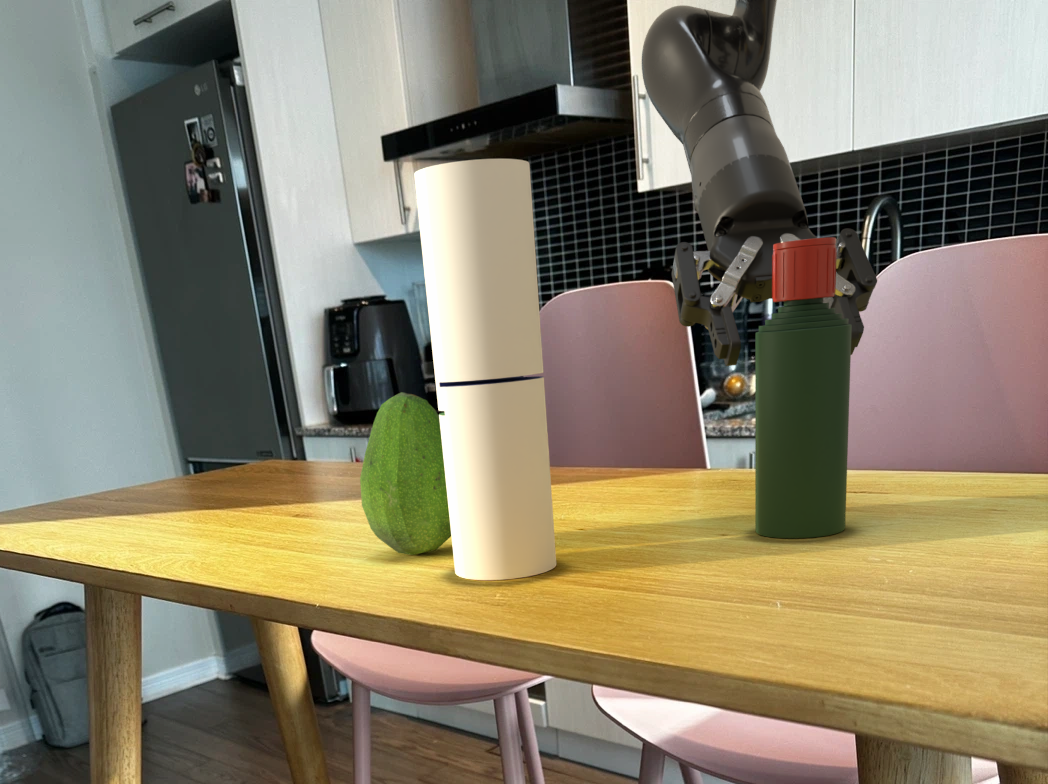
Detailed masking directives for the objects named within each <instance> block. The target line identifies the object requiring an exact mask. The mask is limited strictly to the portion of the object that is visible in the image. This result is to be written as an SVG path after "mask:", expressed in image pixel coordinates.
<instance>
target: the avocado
mask: <svg viewBox="0 0 1048 784" xmlns="http://www.w3.org/2000/svg"><path fill="white" fill-rule="evenodd" d="M363 456H364V457H363V462H362V467H361V472H360V477H359V483H360V484H359V485H360V497H361V507H362V510H363V512H364V515H365V517H366V520H367V523H368V525H369V528H370V530H371V531H372V533H373V534H374V535H375V537H376V538H377V539H379V540H380V541H381V542H382V543H384V544H385V545H386V546H388V547H389V548H391V549H392V550H393V551H395V552H397V554H402V555H410V556H414V555H419V554H425V553H430V552H434V551H437V550H438V549H439V548H440V547H441V546H443V544H444V543H446V542H447V541H448V540H449V539H450V538H452V537H451V527H450V517H449V507H448V498H447V488H446V478H445V468H444V459H443V449H442V439H441V429H440V420H439V414H438V412H437V411H436V409H435V408H434V407H433V406H432V405H431V404H430V403H429V401H428V400H427V399H424V398H422V397H420V396H418V395H416V394H412V393H407V392H402V391H401V392H399V393H397V394H395V395H393V396H391V397H390V398H388V399H387V400H386V401H384V402H383V403H381V405H380V407H379V409H378V411H377V412H376V415H375V417H374V420H373V424H372V427H371V431H370V435H369V438H368V441H367V445H366V448H365V452H364V455H363Z"/></svg>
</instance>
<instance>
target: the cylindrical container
mask: <svg viewBox="0 0 1048 784" xmlns="http://www.w3.org/2000/svg"><path fill="white" fill-rule="evenodd" d="M530 167H531V166H530V162H529V161H527V160H523V159H519V158H518V159H517V158H481V159H468V160H460V161H452V162H445V163H440V164H435V165H429V166H426V167H423V168H421V169H418V170H416V171H415V172H414V173H413V176H414V187H415V193H416V195H415V196H416V205H417V206H416V207H417V214H418V223H419V234H420V245H421V254H422V263H423V265H422V266H423V273H424V283H425V294H426V303H427V312H428V321H429V322H428V323H429V331H430V342H431V350H432V351H431V352H432V360H433V361H432V362H433V369H434V380H435V381H434V382H435V389H436V399H437V408H438V412H440V413H439V414H438V416H439V420H440V429H441V439H442V449H443V459H444V468H445V478H446V488H447V498H448V507H449V517H450V527H451V537H450V538H451V545H452V555H453V565H454V573H455V575H456V576H458V577H459V578H463V579H468V580H476V581H503V580H513V579H520V578H521V579H522V578H526V577H527V578H528V577H532V576H536V575H541V574H544V573H547V572H549V571H551V570H553V569H554V568H556V566H557V553H556V552H557V551H556V539H555V538H556V537H555V521H554V507H553V495H552V479H551V478H552V477H551V464H550V462H551V461H550V449H549V447H550V446H549V435H548V421H547V420H548V419H547V403H546V388H545V377H544V376H541V375H540V376H539V374H543V373H544V359H543V345H542V344H543V343H542V331H541V316H540V315H541V314H540V300H539V299H540V297H539V285H538V284H539V283H538V271H537V270H538V269H537V256H536V239H535V225H534V212H533V211H534V209H533V196H532V195H533V194H532V181H531V168H530ZM531 375H532V376H531ZM533 375H537V376H533Z"/></svg>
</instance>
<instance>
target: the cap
mask: <svg viewBox="0 0 1048 784" xmlns="http://www.w3.org/2000/svg"><path fill="white" fill-rule="evenodd" d="M836 239H837V238H836V237H833V236H832V237H817V238H815V239H804V240H796V241H788V242H782V243H777V244H774V245H773V251H774V252H773V255H772V302H773V303H781V302H783V303H784V301H792V300H802V299H814V298H827V297H833V298H834V297H835V288H836V274H837V272H836V250H837V248H836V245H835V244H836Z"/></svg>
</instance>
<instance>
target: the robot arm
mask: <svg viewBox="0 0 1048 784" xmlns="http://www.w3.org/2000/svg"><path fill="white" fill-rule="evenodd" d="M777 2H778V0H735V4H734V9H733V12H732V15H730V14H727V13H722V12H718V11H713V10H709V9H705V8H701V7H697V6H696V7H695V6H691V5H683V4H681V5H675V6H671V7H669V8H668V9H665V10H664V11H662V12H661V13H660V14H659V15H658V16H657V17H656V18H655V20H653V22H652V24H651V25H650V27H649V28H648V31H647V32H646V35H645V38H644V42H643V45H642V51H641V73H642V80H643V85H644V88H645V91H646V93H647V96H648V98H649V100H650V102H651V104H652V106H653V107H654V108H655V110H656V112H657V113H658V115H659V116H660V117H661V119H662V120H663V122H664V123H665V124H666V126H667V127H668V128H669V130H670V131H671V133H672V134H673V136H675V137H676V139H677V140H678V141H679V142H680V143H681V144H682V146H683V150H684V155H685V158H686V162H687V166H688V169H689V172H690V173H689V174H690V177H691V189H692V194H693V204H694V209H695V211H696V212H697V214H698V217H699V222H700V225H701V229H702V232H703V237H704V239H705V244H706V247H707V250H697V251H694V248H693V246H692V244H691V243H689V242H687V241H681V242H679V243H677V244H676V247H675V251H674V258H673V263H672V264H673V265H672V269H671V278H672V279H671V280H672V285H673V291H674V296H675V303H676V309H677V315H678V321H679V323H680V325H682V326H683V327H687V328H689V327H693V326H694V325H695V324H700V325H703V326H704V327H705V329H706V330H708V334H709V337H710V342H711V346H712V349H713V353H714V356H716V358H717V359H718V360H723V361H724V366H726V367H730V366H731V367H733V366H737V364H738V361H739V357H740V353H741V349H742V342H741V337H740V334H739V331H738V330H739V329H738V327H737V324H736V320H735V316H734V312H735V310H736V308H737V307H738V306H739V304H740V303H741V301H742V300H743V298H744V299H746V300H749V302H750V303H759V302H764V301H766V300H771V299H772V255H773V252H774V251H773V245H774V244H777V243H782V242H788V241H796V240H804V239H815V238H818V237H817V236H816V235H815V234H814V233H813V232H812V231H811V229H810V227H809V221H808V216H807V215H808V214H807V210H806V207H805V205H804V202H803V199H802V195H801V193H800V189H799V187H798V184H797V183H798V182H797V180H796V178H795V175H794V172H793V169H792V166H791V163H790V160H789V156H788V154H787V151H786V148H785V146H784V145H783V143H782V141H781V140H780V138H779V137H778V134H777V132H776V129H775V127H774V123H773V120H772V118H771V115H770V111H769V108H768V105H767V103H766V100H765V99H764V95H763V94H762V93H761V90H762V88H763V87H764V86H763V85H764V83H765V81H766V77H767V75H768V71H769V65H770V59H771V51H772V43H773V42H772V41H773V31H774V23H775V14H776V10H777V9H776V8H777ZM835 245H836V248H837V250H836V288H835V295H834V297H827V298H823V303H829V308H835V314H838V313H842V319H848V324H851V325H852V329H851V356H853V354H854V351H855V349H856V348H858V347H859V344H860V342H861V339H862V337H863V334H864V329H865V325H864V323H863V319H862V317H861V314H860V313H861V312H864V311H866V310H867V308H868V306H869V303H870V300H871V297H872V294H873V292H874V289H875V288H876V285H877V283H878V278H877V275H876V273H875V272H874V269H873V267H872V264H871V263H870V260H869V258H868V255H867V253H866V251H865V249H864V246H863V244H862V243H861V240H860V238H859V235H858V233H857V231H855V230H854V229H852V228H847V227H846V228H843V229H841V231H840V233H839V236H838V238H836V244H835ZM706 270H707V271H708V273H709V274H710V275H711V276H712V277H713V278H715V279H716V280H717V281H719V285H717V287H716V288H715V290H714V292H713V293H712V294H711V296H703V295H702V293H701V288H700V282H699V280H700V279H701V278H702V275H703V272H704V271H706ZM772 300H773V299H772Z"/></svg>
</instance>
